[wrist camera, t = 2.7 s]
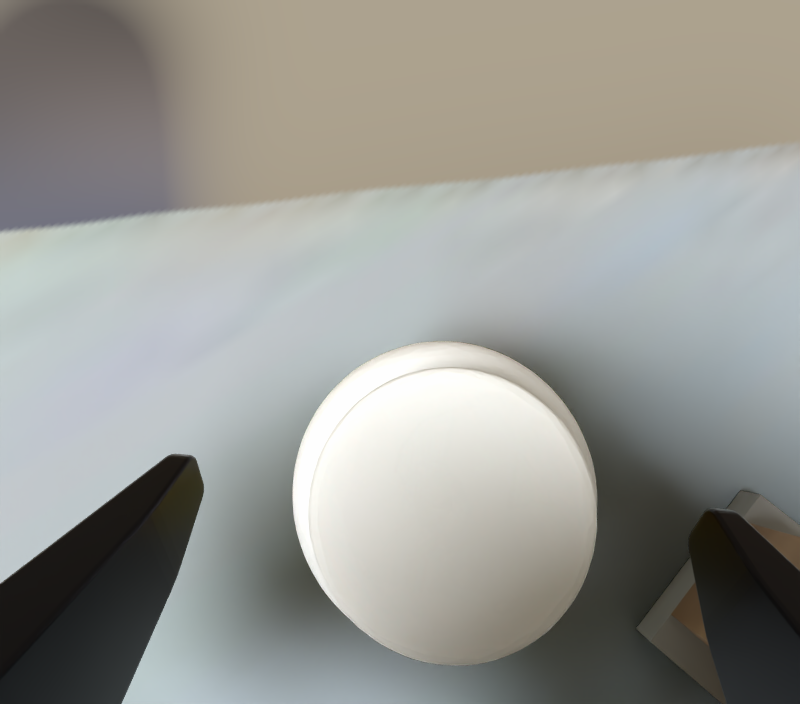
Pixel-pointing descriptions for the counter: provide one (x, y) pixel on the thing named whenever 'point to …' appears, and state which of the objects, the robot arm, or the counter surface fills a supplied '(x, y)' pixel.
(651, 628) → the block
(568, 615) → the counter surface
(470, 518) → the supplement bottle
